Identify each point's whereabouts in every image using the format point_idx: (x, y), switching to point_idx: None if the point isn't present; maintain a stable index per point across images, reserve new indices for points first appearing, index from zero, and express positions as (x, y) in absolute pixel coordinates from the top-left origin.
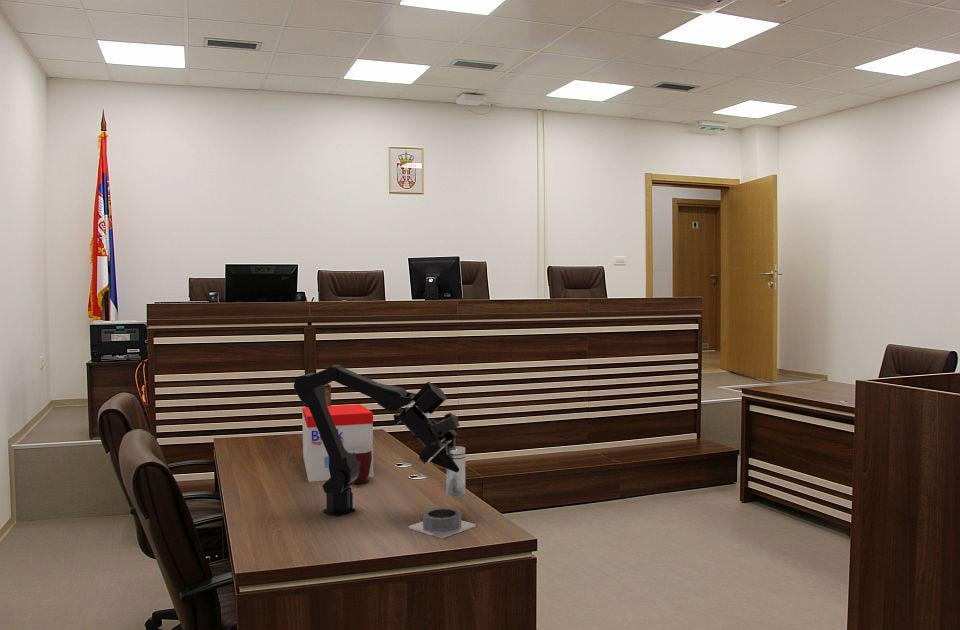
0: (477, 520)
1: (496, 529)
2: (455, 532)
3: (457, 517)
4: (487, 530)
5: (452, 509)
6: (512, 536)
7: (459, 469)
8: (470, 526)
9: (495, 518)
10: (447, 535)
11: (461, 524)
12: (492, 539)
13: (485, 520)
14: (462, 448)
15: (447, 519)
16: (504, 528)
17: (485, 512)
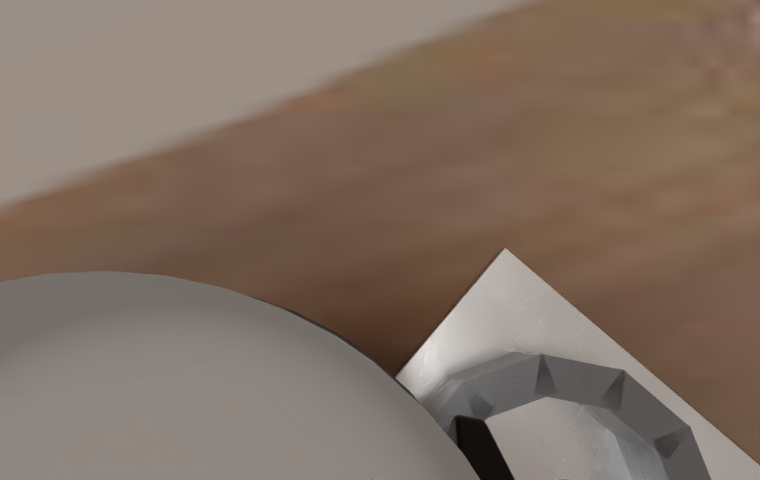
0: (362, 239)
1: (552, 110)
2: (663, 385)
3: (631, 379)
4: (574, 168)
5: None
6: (680, 16)
7: (464, 416)
8: (544, 282)
9: (319, 114)
10: (727, 439)
11: (512, 350)
12: (743, 137)
13: (363, 183)
14: (158, 398)
15: (703, 462)
16: (531, 59)
17: (174, 184)
